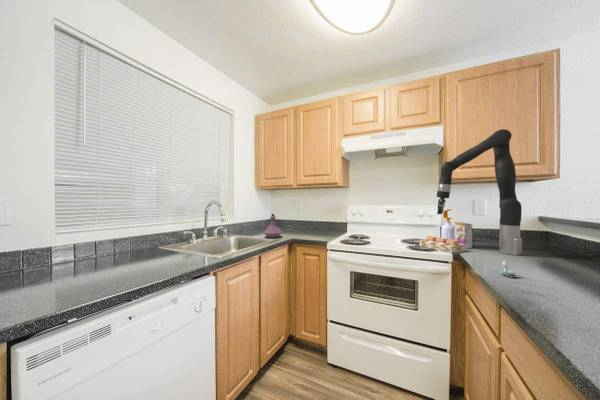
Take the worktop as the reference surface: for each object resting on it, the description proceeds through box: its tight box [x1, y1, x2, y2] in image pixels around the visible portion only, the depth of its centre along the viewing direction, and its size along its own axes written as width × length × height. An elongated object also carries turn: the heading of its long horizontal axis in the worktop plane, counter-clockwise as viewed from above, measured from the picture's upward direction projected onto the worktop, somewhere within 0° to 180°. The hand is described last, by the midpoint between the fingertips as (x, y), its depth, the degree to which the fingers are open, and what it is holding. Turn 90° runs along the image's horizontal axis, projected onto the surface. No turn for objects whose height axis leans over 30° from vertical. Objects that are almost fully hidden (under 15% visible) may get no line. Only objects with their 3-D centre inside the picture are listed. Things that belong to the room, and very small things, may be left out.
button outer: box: [425, 235, 438, 241], centre depth 157 cm, size 5×5×3 cm
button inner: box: [446, 239, 458, 245], centre depth 144 cm, size 5×5×3 cm
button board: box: [419, 239, 467, 254], centre depth 151 cm, size 22×14×4 cm, turn 24°
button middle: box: [436, 237, 447, 243], centre depth 151 cm, size 5×5×3 cm
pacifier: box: [498, 260, 519, 278], centre depth 98 cm, size 7×6×6 cm
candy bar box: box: [454, 221, 473, 249], centre depth 155 cm, size 11×5×16 cm, turn 179°
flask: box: [263, 213, 283, 239], centre depth 194 cm, size 16×16×20 cm
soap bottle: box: [440, 208, 455, 240], centre depth 178 cm, size 9×9×25 cm
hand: (439, 213), depth 158 cm, fingers open, 8 cm apart
